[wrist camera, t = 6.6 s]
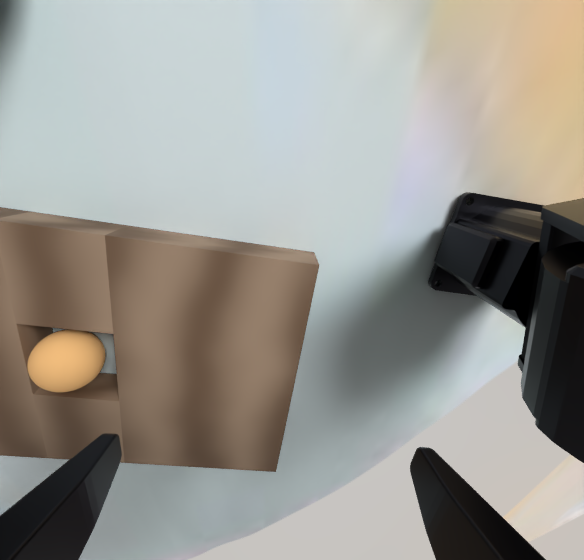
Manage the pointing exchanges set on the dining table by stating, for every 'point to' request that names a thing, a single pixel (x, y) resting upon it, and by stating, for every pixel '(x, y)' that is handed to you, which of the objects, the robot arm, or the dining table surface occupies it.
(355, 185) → the dining table surface
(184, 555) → the dining table surface
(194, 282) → the pocket board
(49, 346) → the ball
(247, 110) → the dining table surface
